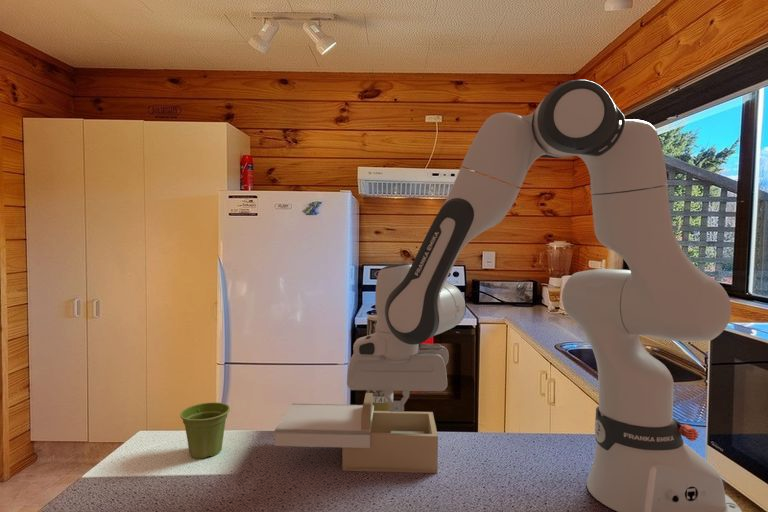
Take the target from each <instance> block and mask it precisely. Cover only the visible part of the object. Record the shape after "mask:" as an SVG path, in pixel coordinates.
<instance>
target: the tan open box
mask: <svg viewBox="0 0 768 512" xmlns="http://www.w3.org/2000/svg"><path fill="white" fill-rule="evenodd" d="M437 431H438V430H437V425H436V421H435V417H434V412H433V411H404V412H402V411H401V412H390V411H373V418H372V425H371V432H370V448H349V447H342V459H341V460H342V464H341V465H342V468H341V469H342V471H343V472H345V471H346V472H377V473H378V472H383V473H413V474H414V473H415V474H416V473H419V474H425V473H426V474H438V463H439V462H438V460H439V459H438V458H439V454H438V451H439V445H438V444H439V435H438V432H437Z"/></svg>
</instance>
